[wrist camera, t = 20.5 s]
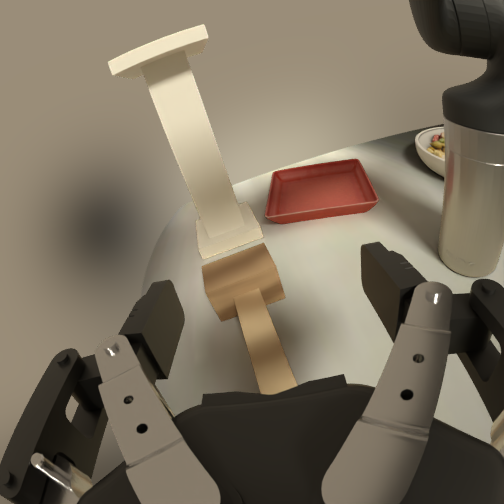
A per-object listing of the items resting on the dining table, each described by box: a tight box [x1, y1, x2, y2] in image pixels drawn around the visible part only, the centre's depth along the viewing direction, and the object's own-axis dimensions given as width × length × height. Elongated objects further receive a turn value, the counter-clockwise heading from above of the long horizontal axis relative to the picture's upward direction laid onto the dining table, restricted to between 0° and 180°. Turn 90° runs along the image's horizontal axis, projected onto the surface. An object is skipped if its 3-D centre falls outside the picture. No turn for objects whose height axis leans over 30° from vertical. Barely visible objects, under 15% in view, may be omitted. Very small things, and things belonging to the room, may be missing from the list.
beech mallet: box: [202, 243, 297, 395], centre depth 26 cm, size 23×8×5 cm, turn 14°
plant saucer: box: [265, 159, 379, 224], centre depth 49 cm, size 18×18×3 cm
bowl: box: [415, 127, 445, 177], centre depth 42 cm, size 30×30×8 cm
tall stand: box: [108, 24, 263, 260], centre depth 39 cm, size 14×12×32 cm
